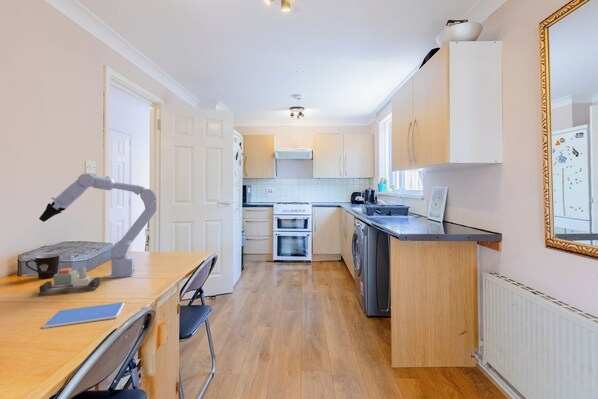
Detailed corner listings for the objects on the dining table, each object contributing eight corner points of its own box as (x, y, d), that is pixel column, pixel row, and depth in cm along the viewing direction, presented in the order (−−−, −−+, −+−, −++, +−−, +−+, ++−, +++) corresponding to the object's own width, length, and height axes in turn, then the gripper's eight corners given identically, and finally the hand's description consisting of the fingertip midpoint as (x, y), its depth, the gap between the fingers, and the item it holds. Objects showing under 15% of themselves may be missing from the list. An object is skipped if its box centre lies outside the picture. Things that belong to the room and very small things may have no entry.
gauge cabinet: (76, 281, 125) (76, 270, 125) (71, 285, 120) (71, 274, 120) (60, 282, 123) (59, 271, 123) (53, 287, 118) (53, 275, 118)
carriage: (92, 281, 119) (91, 266, 119) (88, 285, 115) (87, 269, 114) (77, 282, 118) (77, 267, 117) (73, 286, 113) (72, 270, 113)
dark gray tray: (100, 284, 122) (100, 276, 122) (94, 290, 114) (94, 282, 114) (48, 289, 115) (48, 280, 115) (38, 296, 108) (38, 287, 108)
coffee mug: (65, 274, 135) (64, 254, 134) (47, 280, 126) (46, 258, 126) (43, 273, 136) (42, 253, 136) (24, 279, 127) (23, 257, 127)
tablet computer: (40, 330, 83) (40, 326, 83) (58, 313, 95) (58, 309, 95) (116, 320, 90) (116, 316, 90) (124, 305, 102) (124, 301, 102)
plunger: (71, 277, 124) (71, 267, 124) (68, 280, 120) (68, 270, 120) (62, 278, 122) (62, 268, 122) (58, 280, 119) (58, 270, 119)
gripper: (63, 188, 129) (38, 210, 125) (57, 190, 117) (29, 215, 113) (78, 198, 132) (54, 220, 128) (74, 201, 120) (47, 226, 116)
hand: (43, 218), depth 120 cm, fingers open, 7 cm apart
